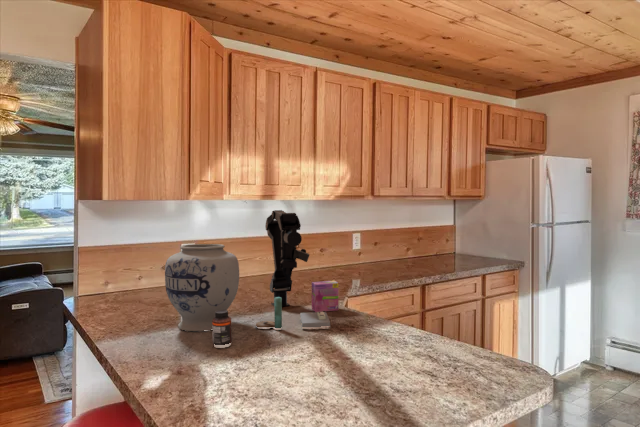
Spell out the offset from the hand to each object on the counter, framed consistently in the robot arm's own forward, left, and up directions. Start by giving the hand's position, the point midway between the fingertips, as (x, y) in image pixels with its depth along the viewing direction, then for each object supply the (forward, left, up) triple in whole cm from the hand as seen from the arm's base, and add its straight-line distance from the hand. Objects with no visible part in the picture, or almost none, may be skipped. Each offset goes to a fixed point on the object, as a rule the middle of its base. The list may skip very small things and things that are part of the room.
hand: (288, 282), depth 175 cm
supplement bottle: (+26, -33, -13) cm, 44 cm away
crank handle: (+14, -14, -13) cm, 24 cm away
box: (+1, +16, -13) cm, 21 cm away
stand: (+17, +3, -13) cm, 22 cm away
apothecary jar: (0, -34, -13) cm, 37 cm away
